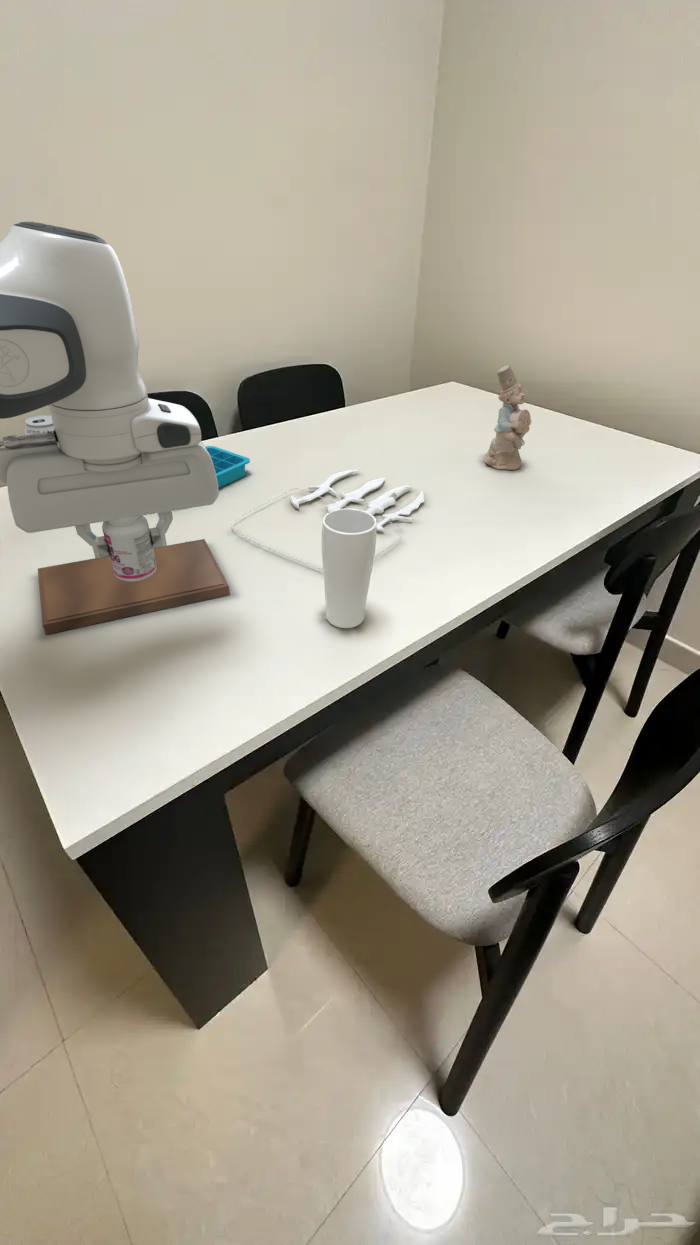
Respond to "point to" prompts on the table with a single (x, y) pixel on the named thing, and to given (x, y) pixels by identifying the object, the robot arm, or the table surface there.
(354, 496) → the knife set
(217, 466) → the ice cube tray
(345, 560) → the drinking glass
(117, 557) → the pill bottle
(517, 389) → the figurine
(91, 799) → the table surface
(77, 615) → the cutting board
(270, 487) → the table surface
